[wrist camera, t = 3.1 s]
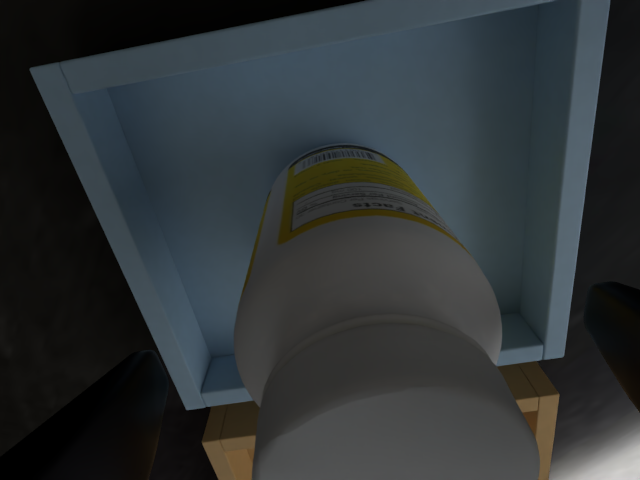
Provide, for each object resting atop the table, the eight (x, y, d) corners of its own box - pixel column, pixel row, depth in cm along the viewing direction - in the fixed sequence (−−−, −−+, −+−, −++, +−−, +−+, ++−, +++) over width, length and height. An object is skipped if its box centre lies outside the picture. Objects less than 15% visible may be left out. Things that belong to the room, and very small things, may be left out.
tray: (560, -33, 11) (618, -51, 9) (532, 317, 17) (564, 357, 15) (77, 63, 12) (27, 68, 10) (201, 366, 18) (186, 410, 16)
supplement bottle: (344, 303, 16) (384, 625, 7) (235, 220, 14) (109, 506, 5) (449, 209, 14) (674, 480, 5) (339, 103, 12) (403, 240, 4)
